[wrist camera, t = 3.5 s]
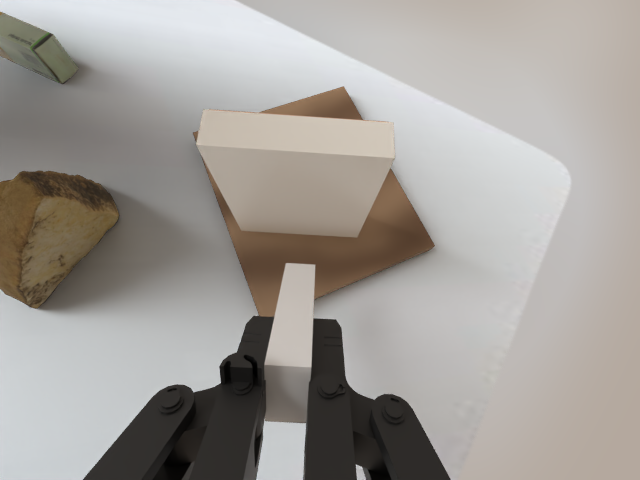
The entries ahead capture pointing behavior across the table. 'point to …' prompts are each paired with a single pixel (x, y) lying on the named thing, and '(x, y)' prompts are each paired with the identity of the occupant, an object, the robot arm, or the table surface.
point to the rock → (48, 230)
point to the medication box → (34, 49)
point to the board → (327, 251)
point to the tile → (296, 169)
